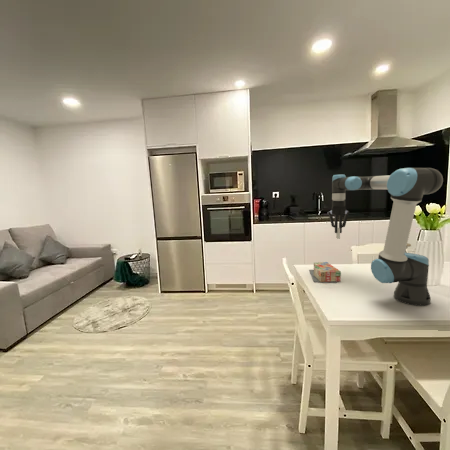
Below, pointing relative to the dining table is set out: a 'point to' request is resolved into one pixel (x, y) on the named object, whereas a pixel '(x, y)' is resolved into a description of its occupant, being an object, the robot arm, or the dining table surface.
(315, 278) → the mat
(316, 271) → the stack of blocks
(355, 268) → the dining table surface
